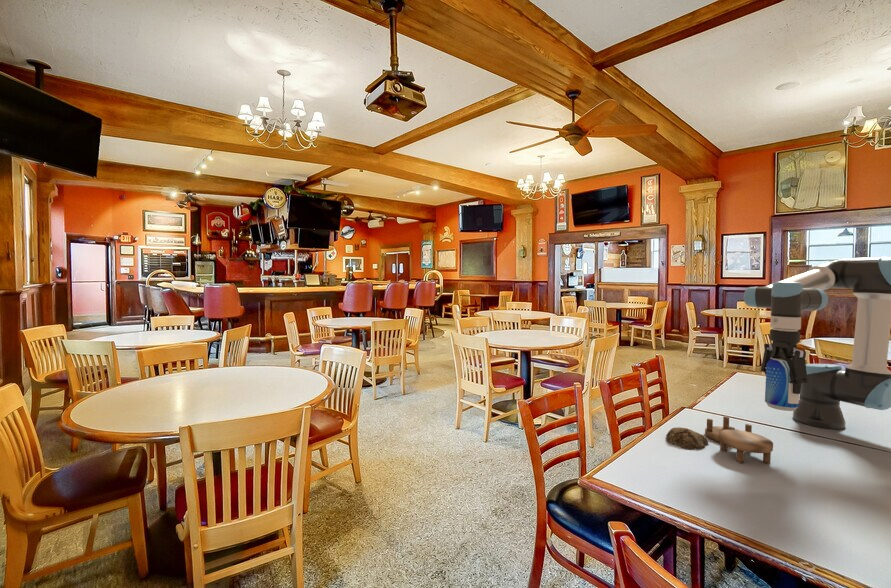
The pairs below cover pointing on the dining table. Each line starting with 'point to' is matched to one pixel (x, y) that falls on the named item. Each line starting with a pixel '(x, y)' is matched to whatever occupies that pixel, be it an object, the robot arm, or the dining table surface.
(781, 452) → the dining table surface
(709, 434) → the upturned footstool
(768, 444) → the footstool
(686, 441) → the bread roll
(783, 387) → the beer can
